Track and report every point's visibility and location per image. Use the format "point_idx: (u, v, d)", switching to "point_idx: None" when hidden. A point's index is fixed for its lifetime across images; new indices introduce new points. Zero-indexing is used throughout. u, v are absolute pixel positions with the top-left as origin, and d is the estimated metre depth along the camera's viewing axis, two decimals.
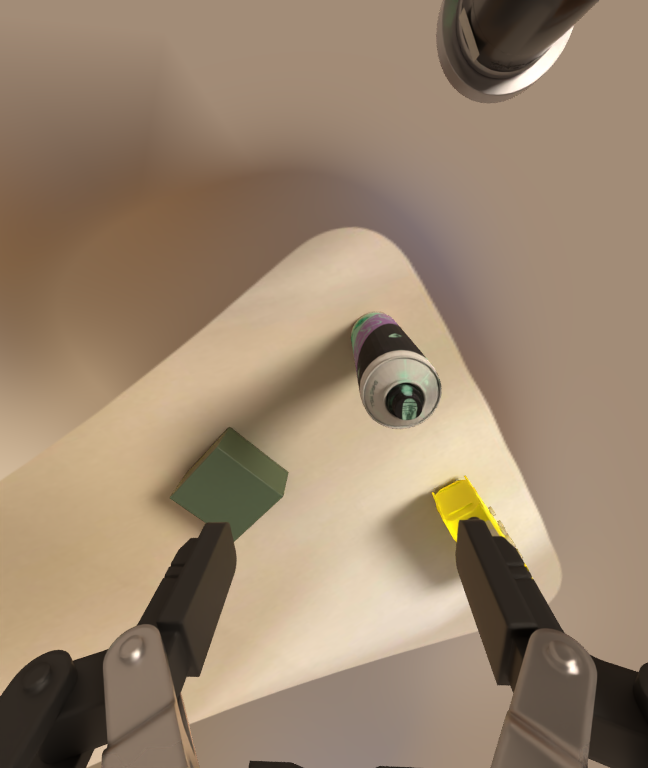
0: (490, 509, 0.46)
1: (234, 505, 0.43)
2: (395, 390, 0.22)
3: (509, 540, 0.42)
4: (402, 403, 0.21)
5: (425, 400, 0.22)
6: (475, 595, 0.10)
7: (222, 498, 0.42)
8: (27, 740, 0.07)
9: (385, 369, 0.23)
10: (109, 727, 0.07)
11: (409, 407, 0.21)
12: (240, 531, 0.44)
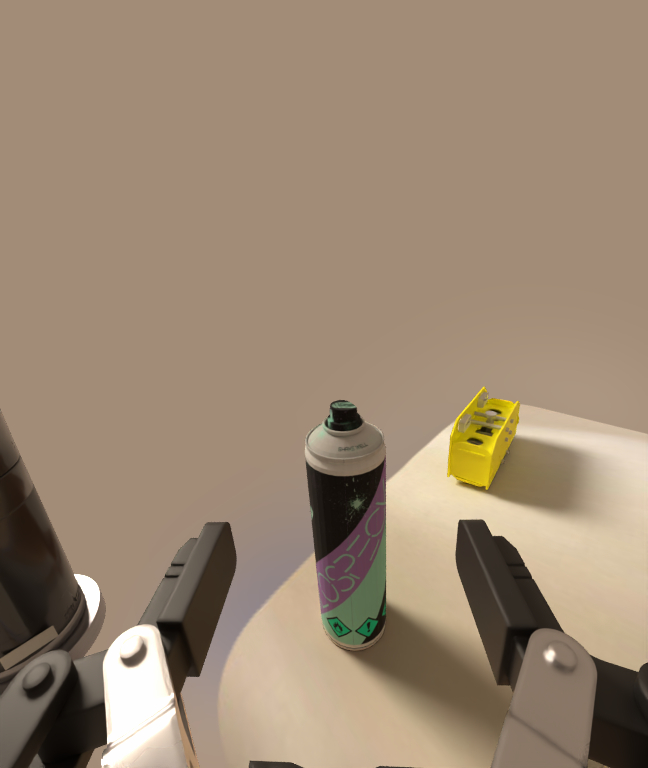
0: None
1: None
2: (335, 426, 0.22)
3: None
4: (339, 408, 0.22)
5: None
6: (475, 595, 0.10)
7: None
8: (27, 740, 0.07)
9: (323, 449, 0.22)
10: (109, 727, 0.07)
11: (341, 405, 0.23)
12: None
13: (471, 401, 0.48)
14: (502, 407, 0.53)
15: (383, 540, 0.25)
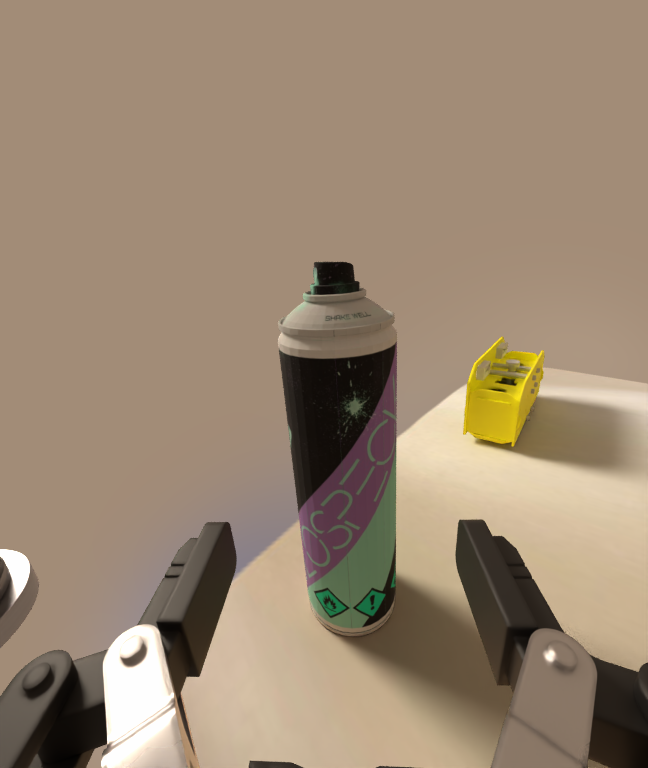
0: None
1: None
2: (321, 290, 0.15)
3: None
4: (326, 262, 0.15)
5: None
6: (475, 595, 0.10)
7: None
8: (27, 740, 0.07)
9: (303, 322, 0.14)
10: (109, 727, 0.07)
11: None
12: None
13: (489, 348, 0.41)
14: (523, 360, 0.45)
15: (393, 475, 0.17)
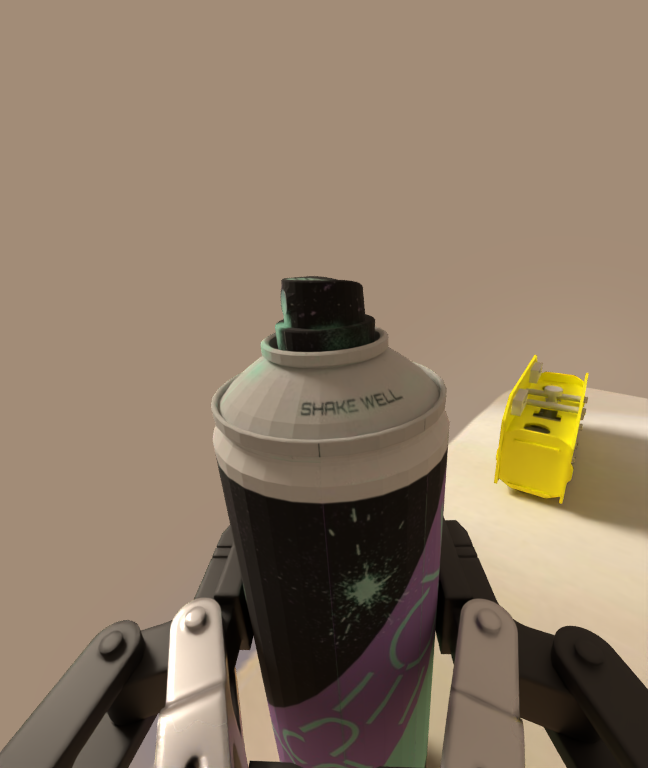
0: None
1: None
2: (295, 340, 0.07)
3: None
4: (306, 280, 0.07)
5: None
6: None
7: None
8: (95, 704, 0.07)
9: (254, 412, 0.06)
10: (169, 688, 0.07)
11: None
12: None
13: (524, 372, 0.33)
14: (561, 384, 0.37)
15: (431, 659, 0.10)
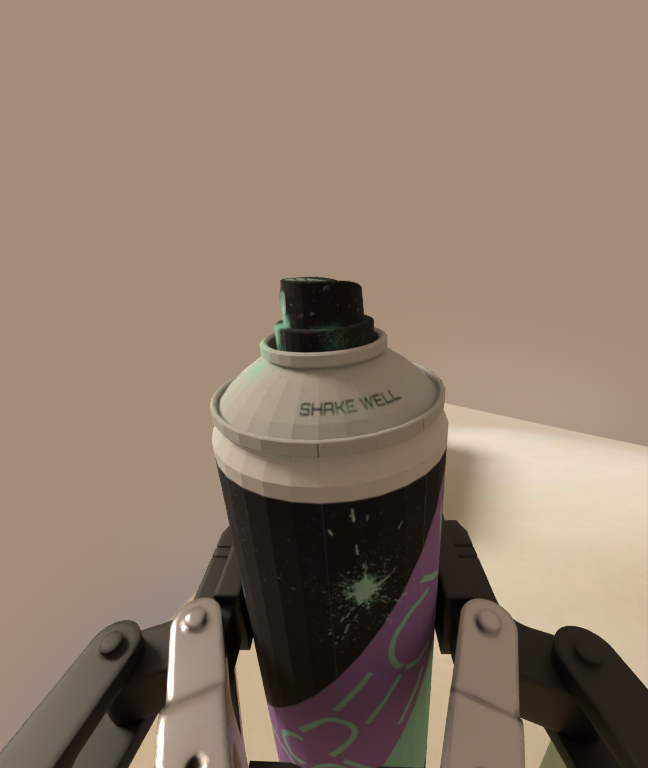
0: None
1: None
2: (295, 340, 0.07)
3: None
4: (306, 280, 0.07)
5: None
6: None
7: None
8: (95, 704, 0.07)
9: (253, 412, 0.06)
10: (168, 688, 0.07)
11: None
12: None
13: None
14: None
15: (431, 659, 0.10)
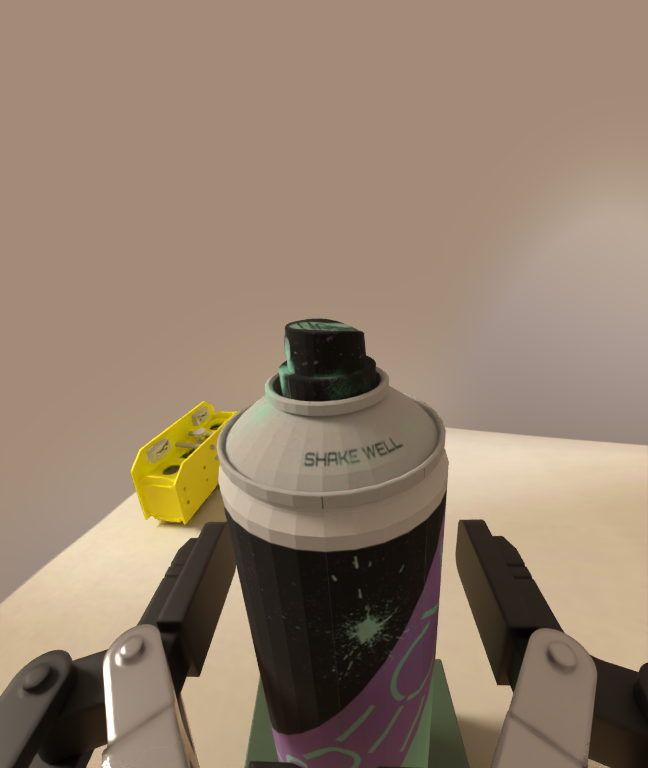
0: None
1: None
2: (299, 387, 0.07)
3: None
4: (309, 329, 0.07)
5: None
6: (475, 595, 0.10)
7: None
8: (27, 740, 0.07)
9: (259, 460, 0.07)
10: (109, 727, 0.07)
11: (318, 328, 0.08)
12: None
13: (175, 422, 0.42)
14: None
15: (432, 686, 0.10)
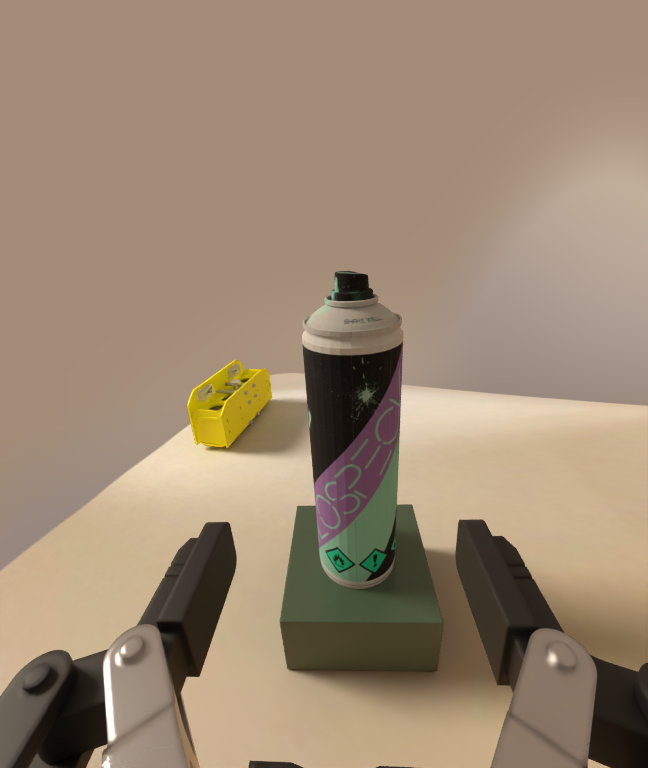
0: None
1: None
2: (341, 297, 0.17)
3: None
4: (346, 273, 0.17)
5: None
6: (475, 595, 0.10)
7: None
8: (27, 740, 0.07)
9: (325, 323, 0.17)
10: (108, 727, 0.07)
11: None
12: None
13: (216, 373, 0.52)
14: None
15: (396, 453, 0.20)
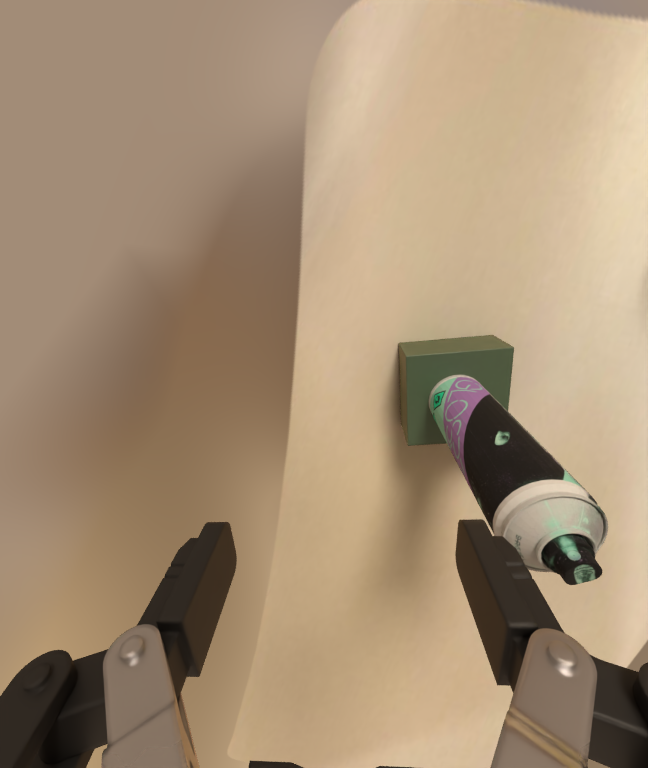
0: None
1: None
2: (551, 548, 0.17)
3: None
4: (572, 571, 0.16)
5: (594, 545, 0.17)
6: (475, 595, 0.10)
7: None
8: (27, 740, 0.07)
9: (524, 520, 0.18)
10: (109, 727, 0.07)
11: (583, 571, 0.16)
12: None
13: None
14: None
15: None
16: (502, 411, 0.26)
